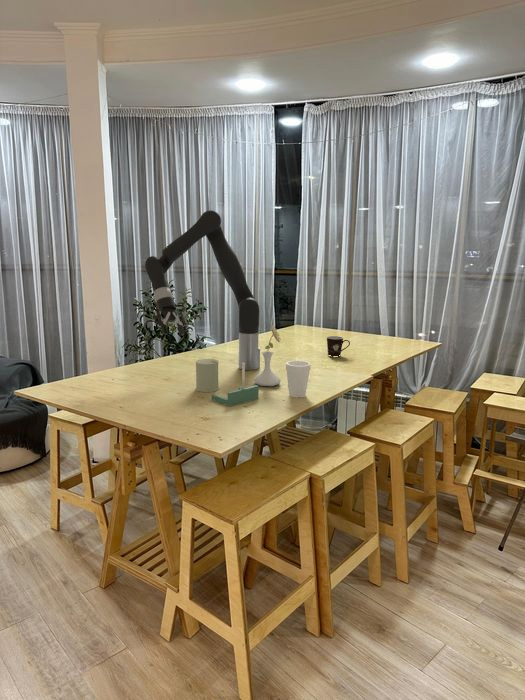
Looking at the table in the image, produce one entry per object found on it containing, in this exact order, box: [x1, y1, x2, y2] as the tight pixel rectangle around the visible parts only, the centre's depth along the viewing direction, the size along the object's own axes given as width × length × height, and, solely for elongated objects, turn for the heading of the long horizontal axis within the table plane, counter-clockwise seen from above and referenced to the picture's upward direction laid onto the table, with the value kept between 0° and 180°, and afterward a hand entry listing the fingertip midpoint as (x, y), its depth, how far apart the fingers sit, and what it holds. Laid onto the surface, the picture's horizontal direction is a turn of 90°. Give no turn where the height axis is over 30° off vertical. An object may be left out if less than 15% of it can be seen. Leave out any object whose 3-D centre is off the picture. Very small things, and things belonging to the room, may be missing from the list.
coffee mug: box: [326, 335, 351, 356], centre depth 261 cm, size 12×9×10 cm
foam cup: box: [285, 360, 312, 398], centre depth 193 cm, size 10×9×13 cm
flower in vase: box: [253, 325, 282, 387], centre depth 207 cm, size 13×11×25 cm
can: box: [195, 358, 220, 393], centre depth 201 cm, size 9×9×12 cm
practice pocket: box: [211, 363, 260, 407], centre depth 188 cm, size 11×14×15 cm
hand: (174, 334), depth 210 cm, fingers open, 8 cm apart
